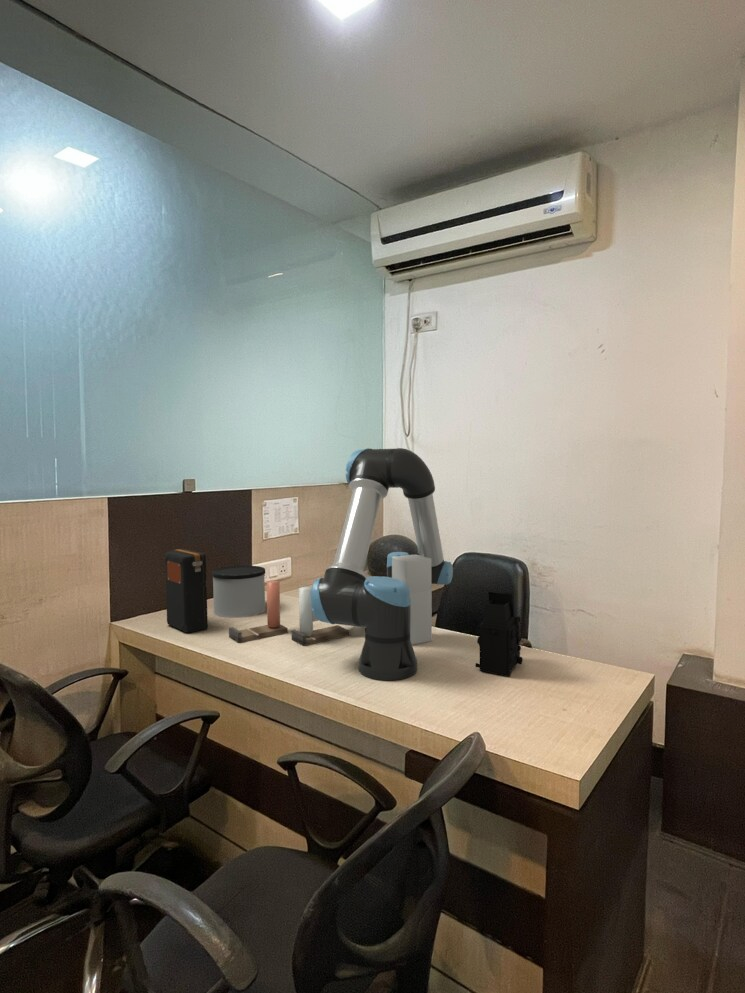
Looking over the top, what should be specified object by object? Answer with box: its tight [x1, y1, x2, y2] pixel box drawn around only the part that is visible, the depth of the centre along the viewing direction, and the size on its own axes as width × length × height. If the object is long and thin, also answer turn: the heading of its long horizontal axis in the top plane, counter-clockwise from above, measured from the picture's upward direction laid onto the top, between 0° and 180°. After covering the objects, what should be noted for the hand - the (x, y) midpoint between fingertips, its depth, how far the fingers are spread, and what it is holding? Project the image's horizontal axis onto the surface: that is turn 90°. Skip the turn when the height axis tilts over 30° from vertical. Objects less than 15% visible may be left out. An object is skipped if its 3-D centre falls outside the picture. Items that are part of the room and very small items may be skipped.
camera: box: [474, 589, 524, 677], centre depth 143 cm, size 10×14×20 cm
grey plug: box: [298, 586, 314, 636], centre depth 165 cm, size 4×4×14 cm
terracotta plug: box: [266, 580, 281, 627], centre depth 175 cm, size 4×4×14 cm
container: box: [211, 565, 266, 619], centre depth 201 cm, size 19×19×15 cm
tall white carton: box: [392, 553, 433, 646], centre depth 166 cm, size 9×9×25 cm
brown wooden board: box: [290, 624, 351, 647], centre depth 169 cm, size 16×9×3 cm, turn 126°
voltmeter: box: [164, 548, 209, 634], centre depth 180 cm, size 16×9×25 cm, turn 45°
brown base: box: [228, 623, 289, 644], centre depth 172 cm, size 16×9×3 cm, turn 126°
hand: (312, 616), depth 167 cm, fingers closed
